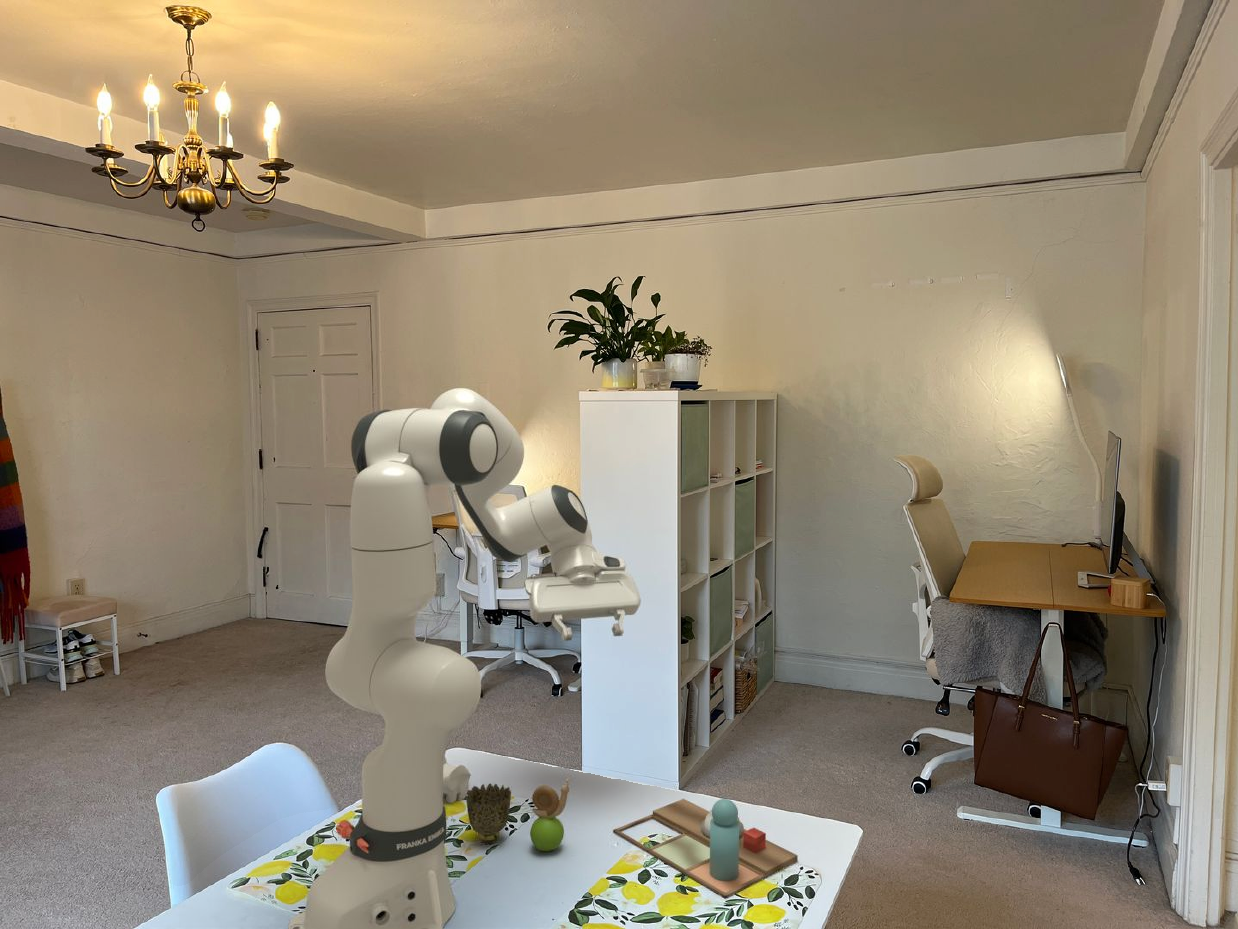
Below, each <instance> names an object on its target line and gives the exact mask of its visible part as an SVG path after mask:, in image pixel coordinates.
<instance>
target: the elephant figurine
mask: <svg viewBox="0 0 1238 929" xmlns="http://www.w3.org/2000/svg"><path fill="white" fill-rule="evenodd" d="M471 776H472V774H471V772H470V770H469V769H468V767H466V766H465V765H463V764H459V766H455V765H452V764H449V763H448V762H447V758H446V757H445V758H444V766H443V798H444V797H446V802H448V803H450V804H452V803H455V802H456V801H457V800H460V801H461V800H464V799H466V796H468V794H467V791H468V790H469V787H470V786H469V785H470V784H469V783H470V782H469V780H470V778H471Z"/></svg>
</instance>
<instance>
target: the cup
mask: <svg viewBox="0 0 1238 929" xmlns="http://www.w3.org/2000/svg"><path fill="white" fill-rule="evenodd" d="M511 796H512V791H511V790H510V787H509V786H508V787H505V785H504V784H502V785H501V787H499V785H498V784H497V783H494V784H493V785H492V783H489V784H488V785H487V786H486V787H485V784H484V783H483V784H481V786H480V788H479V787H478V786H476V785H474V786H473V787H472V788H471V789H468V791H467V795H466V797H465V800H466V809H467V815H468V822H469V825H470V826H471V828H472V830H473V831H474V832H475V833H477V839H478V841H480V842H481V843H483V844H492V843H495V842H497V841H498V840H499V839H500V836H501V831H503V830H504V828H505V827H506V826H507V823H508V820H509V815H510V809H511V799H512V798H511Z"/></svg>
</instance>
